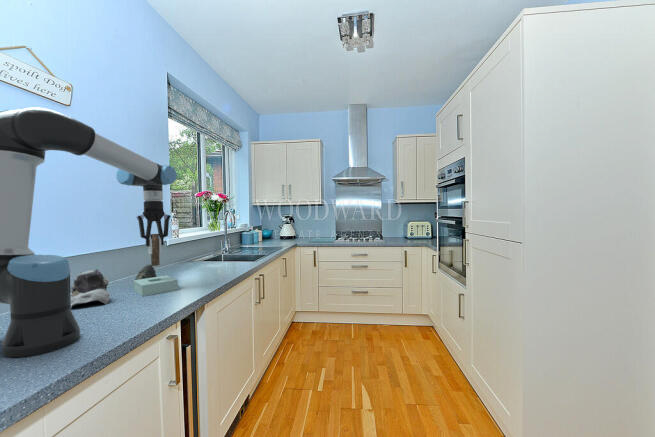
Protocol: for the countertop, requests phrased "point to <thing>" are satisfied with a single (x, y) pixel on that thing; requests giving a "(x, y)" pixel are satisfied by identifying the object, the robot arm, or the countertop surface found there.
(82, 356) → the countertop surface
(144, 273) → the rock
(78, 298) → the stone
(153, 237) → the dowel
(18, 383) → the countertop surface
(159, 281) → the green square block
